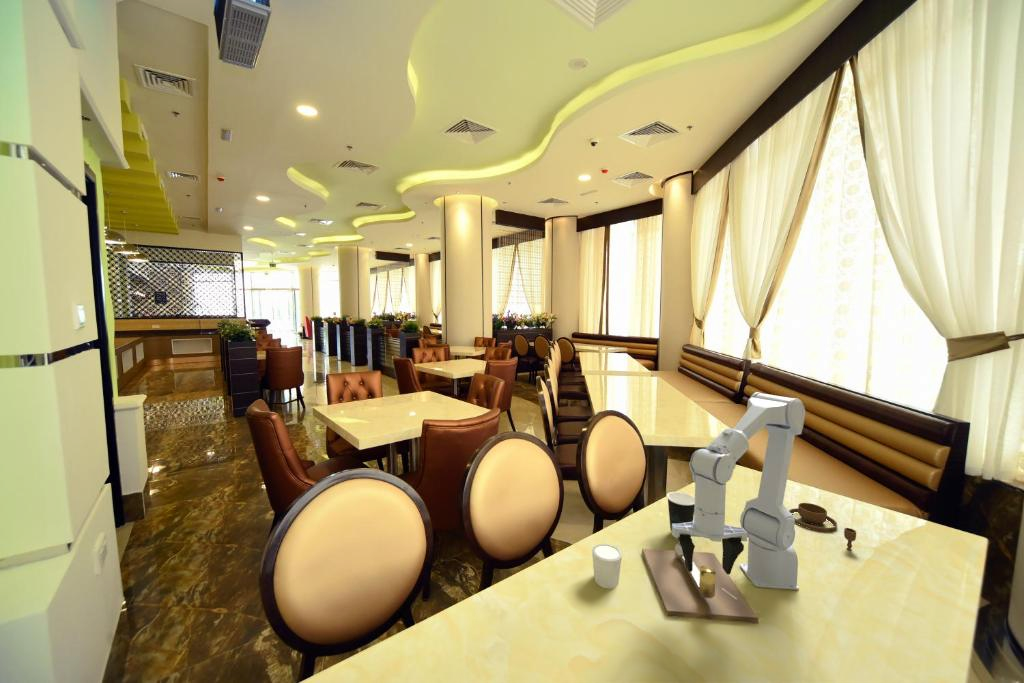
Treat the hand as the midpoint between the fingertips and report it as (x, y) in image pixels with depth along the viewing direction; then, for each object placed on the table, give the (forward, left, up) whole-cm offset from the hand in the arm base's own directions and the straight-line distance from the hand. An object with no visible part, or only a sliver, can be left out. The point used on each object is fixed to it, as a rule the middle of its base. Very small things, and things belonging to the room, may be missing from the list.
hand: (707, 570), depth 81 cm
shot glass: (+20, -7, -9) cm, 23 cm away
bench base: (0, -8, -9) cm, 12 cm away
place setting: (-45, -38, -9) cm, 59 cm away
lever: (0, -8, -7) cm, 10 cm away
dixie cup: (-4, -29, -9) cm, 31 cm away
